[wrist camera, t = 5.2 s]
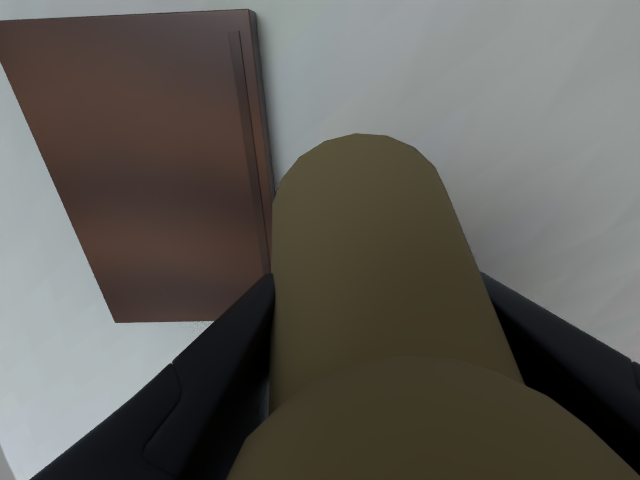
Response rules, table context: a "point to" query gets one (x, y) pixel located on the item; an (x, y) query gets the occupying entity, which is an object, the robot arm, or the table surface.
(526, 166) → the table surface
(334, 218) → the olive yellow pawn
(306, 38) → the table surface
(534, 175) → the table surface
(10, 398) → the table surface
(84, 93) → the walnut board
